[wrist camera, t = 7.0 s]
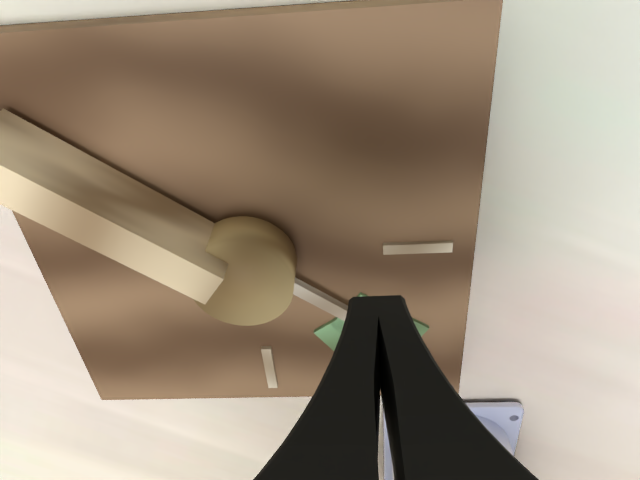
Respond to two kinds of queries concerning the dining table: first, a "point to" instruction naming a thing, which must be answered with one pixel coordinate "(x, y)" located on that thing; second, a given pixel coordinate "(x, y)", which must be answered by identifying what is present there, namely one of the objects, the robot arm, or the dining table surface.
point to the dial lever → (152, 229)
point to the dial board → (268, 173)
